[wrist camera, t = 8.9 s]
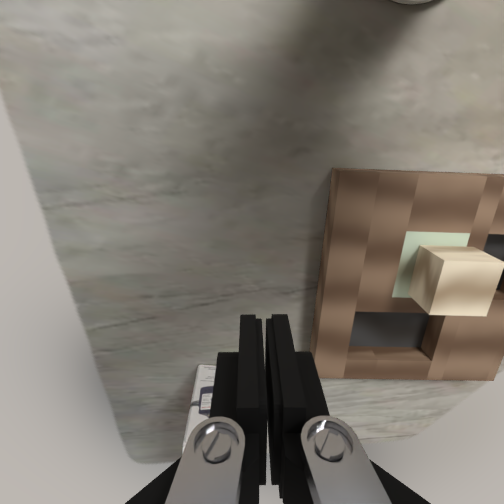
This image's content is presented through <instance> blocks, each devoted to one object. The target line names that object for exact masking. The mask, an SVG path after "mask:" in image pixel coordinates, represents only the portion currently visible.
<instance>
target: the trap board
mask: <svg viewBox="0 0 504 504" xmlns="http://www.w3.org/2000/svg"><path fill="white" fill-rule="evenodd" d="M420 245H436V246H465V247H475V248H477V249H479V250H481V251H483V252H485V253H487V254H489V255H491V256H493V257H495V258H497V259H499V260H501V261H503V262H504V174H480V173H454V172H427V171H401V170H375V169H349V168H332V176H331V184H330V192H329V200H328V208H327V216H326V224H325V231H324V239H323V247H322V255H321V263H320V271H319V279H318V287H317V295H316V303H315V311H314V318H313V326H312V334H311V342H310V350H309V352H311V353H312V355H313V358H314V362H315V365H316V369H317V372H318V376H319V378H350V379H414V380H478V381H493V380H494V378H495V376H496V373H497V371H498V368H499V366H500V363H501V361H502V358H503V356H504V269H503V271H502V274H501V277H500V280H499V282H498V285H497V288H496V291H495V294H494V296H493V299H492V302H491V305H490V307H489V310H488V313H487V316H451V315H429V314H428V313H427V312H426V311H425V310H424V309H423V308H422V307H421V306H420V305H419V304H418V303H417V302H416V301H415V300H414V299H413V298H411V297H410V296H409V295H408V291H409V287H410V283H411V278H412V274H413V270H414V266H415V262H416V258H417V254H418V250H419V246H420Z"/></svg>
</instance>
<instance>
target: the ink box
mask: <svg viewBox="0 0 504 504" xmlns="http://www.w3.org/2000/svg"><path fill="white" fill-rule="evenodd" d="M215 371H216V366H214V365H202V364H200V365H199V366H198V369H197V375H196V380H195V385H194V390H193V395H192V400H191V405H190V410H189V415H188V421H187V426H186V431H185V436H184V440H183V446H182V454H183V452H184V449H185V446H186V443H187V440H188V438H189V436H190V434H191V432H192V430H193V429H194V428H195V427H196V426H197V425H198V424H199V423H201V422H202V421H204V420H206V419H209V415H210V408H211V401H212V393H213V386H214V379H215Z"/></svg>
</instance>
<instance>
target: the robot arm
mask: <svg viewBox="0 0 504 504" xmlns="http://www.w3.org/2000/svg"><path fill="white" fill-rule="evenodd" d="M392 1H395V2H398V3H403V4H420V3H426V2H429V1H432V0H392ZM267 421H268V437H269V453H270V468H271V482H272V485H279V494H280V498H283V503H284V504H431V503H429V502H428V501H426V500H425V499H423V498H422V497H421V496H419V495H418V494H417V493H415V492H414V491H413V490H411V489H410V488H408V487H407V486H406V485H404V484H403V483H401V482H400V481H399V480H397V479H396V478H394V477H393V476H392V475H390V474H389V473H388V472H386V471H385V470H383V469H382V468H381V467H379V466H378V465H376V464H375V463H374V462H372V461H371V460H370V459H369V458H368V456H367V454H366V452H365V450H364V449H363V447H362V445H361V443H360V441H359V439H358V437H357V435H356V434H355V432H354V431H353V429H352V428H351V427H350V426H349V425H347V424H346V423H345V422H343V421H342V420H340V419H338V418H335V417H331V416H330V415H329V411H328V408H327V404H326V401H325V397H324V394H323V390H322V386H321V383H320V379H319V376H318V372H317V369H316V365H315V362H314V358H313V355H312V353H311V352H295V349H294V344H293V339H292V334H291V330H290V325H289V320H288V315H287V314H272V318H271V319H266V352H265V363H264V348H263V333H262V319H256V315H241V316H240V338H239V352H219V353H218V357H217V364H216V371H215V379H214V386H213V393H212V401H211V408H210V415H209V419H206V420H204V421H202V422H201V423H199V424H198V425H197V426H196V427H195V428H194V429H193V430H192V432H191V434H190V436H189V438H188V440H187V443H186V446H185V449H184V452H183V454H182V457H181V458H179V459H178V460H177V461H176V462H175V463H173V464H172V465H171V466H170V467H169V468H167V469H166V470H165V471H164V472H162V473H161V474H160V475H159V476H158V477H157V478H155V479H154V480H153V481H152V482H150V483H149V484H148V485H147V486H146V487H144V488H143V489H142V490H141V491H140V492H138V493H137V494H136V495H135V496H134V497H132V498H131V499H130V500H129V501H127V502H126V503H125V504H259V485H266V451H267Z"/></svg>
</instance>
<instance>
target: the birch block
mask: <svg viewBox="0 0 504 504" xmlns="http://www.w3.org/2000/svg"><path fill="white" fill-rule="evenodd" d="M503 269H504V262H503V261H501V260H499V259H497V258H495V257H493V256H491V255H489V254H487V253H485V252H483V251H481V250H479V249H477V248H475V247H465V246H436V245H420V246H419V250H418V254H417V258H416V262H415V266H414V270H413V274H412V278H411V283H410V287H409V291H408V295H409V296H410V297H411V298H413V299H414V300H415V301H416V302H417V303H418V304H419V305H420V306H421V307H422V308H423V309H424V310H425V311H426V312H427V313H428V314H429V315H451V316H487V313H488V310H489V307H490V305H491V302H492V299H493V296H494V294H495V291H496V288H497V285H498V282H499V280H500V277H501V274H502V271H503Z"/></svg>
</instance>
